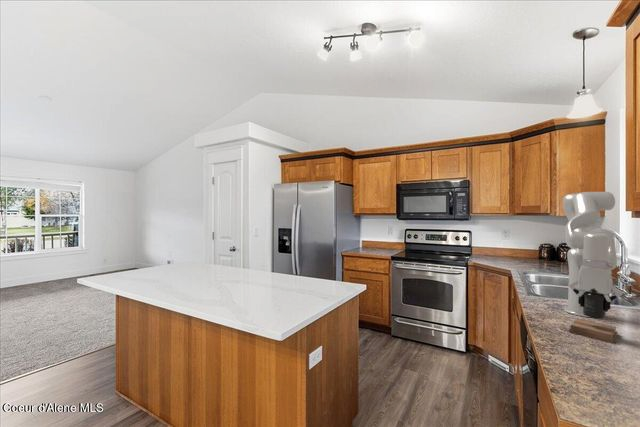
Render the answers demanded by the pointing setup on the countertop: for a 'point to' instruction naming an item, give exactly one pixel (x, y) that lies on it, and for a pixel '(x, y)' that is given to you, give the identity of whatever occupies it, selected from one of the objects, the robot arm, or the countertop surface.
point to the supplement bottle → (594, 304)
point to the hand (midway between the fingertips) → (593, 308)
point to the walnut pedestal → (594, 330)
